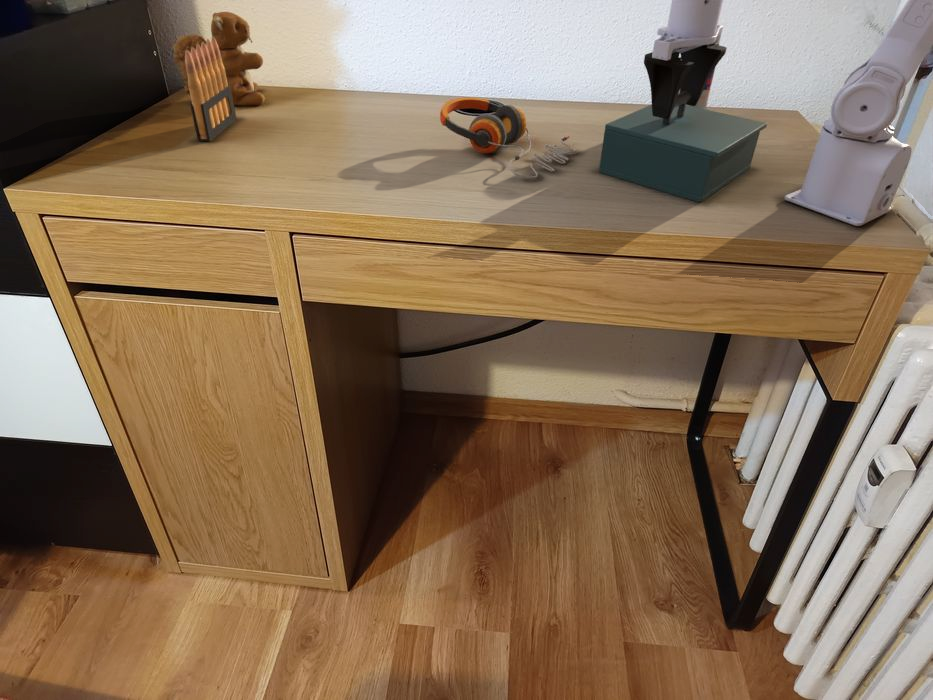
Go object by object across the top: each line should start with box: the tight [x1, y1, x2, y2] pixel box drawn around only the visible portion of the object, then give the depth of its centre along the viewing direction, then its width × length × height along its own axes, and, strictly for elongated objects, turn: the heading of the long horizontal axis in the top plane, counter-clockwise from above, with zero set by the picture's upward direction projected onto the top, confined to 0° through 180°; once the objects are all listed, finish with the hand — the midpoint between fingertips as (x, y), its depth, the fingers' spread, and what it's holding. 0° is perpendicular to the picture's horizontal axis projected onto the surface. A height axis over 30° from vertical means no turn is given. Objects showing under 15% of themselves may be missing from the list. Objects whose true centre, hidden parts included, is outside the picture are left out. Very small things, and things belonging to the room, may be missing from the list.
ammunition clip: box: [185, 35, 237, 142], centre depth 95 cm, size 11×2×12 cm, turn 175°
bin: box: [598, 128, 761, 203], centre depth 86 cm, size 14×15×6 cm
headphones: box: [439, 96, 576, 179], centre depth 92 cm, size 17×5×20 cm
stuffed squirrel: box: [172, 11, 266, 106], centre depth 107 cm, size 10×14×13 cm
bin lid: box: [604, 91, 768, 158], centre depth 83 cm, size 15×15×4 cm
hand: (674, 110), depth 84 cm, fingers open, 7 cm apart
